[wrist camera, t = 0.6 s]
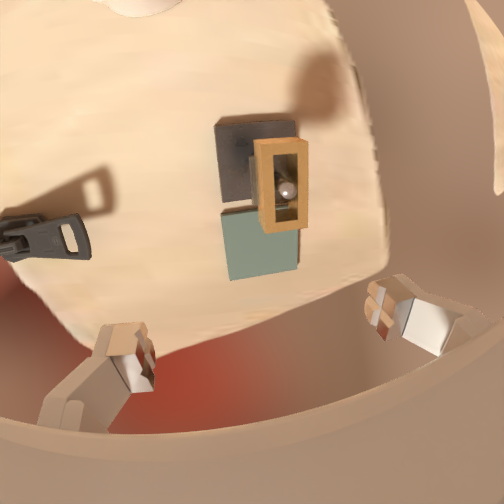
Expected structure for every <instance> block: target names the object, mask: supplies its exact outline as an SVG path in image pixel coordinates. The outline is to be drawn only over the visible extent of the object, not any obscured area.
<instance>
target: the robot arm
mask: <svg viewBox="0 0 504 504" xmlns="http://www.w3.org/2000/svg"><path fill="white" fill-rule="evenodd" d="M92 1H93V2H97V3H102V4H105V5H106V6H108V7H109V8H110V9H111V10H112V11H114V12H115V13H117V14H120V15H123V16H128V17H144V16H150V15H154V14H157V13H160V12H162V11H165V10H167V9H169V8H171V7H173V6H174V5H176V4H177V3H179V2H180V1H181V0H92ZM367 292H368V294H369V297H368V298H367V299H366V301H365V306H364V311H365V316H366V318H367V320H368V321H369V322H370V324H372V325H374V326H377V329H376V331H377V333H378V334H379V335H380V336H381V337H382V339H383V340H384V341H385V342H386V341H389V340H392V339H395V338H398V337H401V336H402V337H403V338H405V339H407V340H409V341H410V342H412V343H414V344H416V345H418V346H420V347H422V348H423V349H425V350H427V351H429V352H431V353H433V354H434V355H436V356H438V358H437V359H435V360H433V361H431V362H430V363H428V364H426V365H424V366H422V367H420V368H418V369H416V370H414V371H412V372H409V373H408V374H405V375H403V376H401V377H399V378H397V379H394V380H392V381H389V382H387V383H385V384H383V385H380V386H378V387H375V388H373V389H370V390H368V391H365V392H362V393H360V394H357V395H354V396H352V397H349V398H346V399H343V400H340V401H337V402H334V403H331V404H328V405H324V406H321V407H318V408H314V409H311V410H307V411H304V412H300V413H296V414H292V415H288V416H284V417H280V418H275V419H271V420H266V421H262V422H257V423H251V424H246V425H241V426H234V427H227V428H220V429H213V430H204V431H195V432H183V433H170V434H110V433H109V432H108V431H107V428H108V427H109V425H110V424H111V423H112V421H113V420H114V418H115V417H116V415H117V414H118V412H119V411H120V409H121V408H122V407H123V405H124V403H125V402H126V401H127V399H128V398H129V396H130V395H131V393H135V392H147V391H154V381H155V375H154V373H153V371H152V370H153V368H154V367H155V366H156V357H155V350H154V346H153V343H152V341H151V340H150V339H149V338H147V332H148V330H147V328H146V326H145V323H143V322H132V323H120V324H109V325H103V326H102V327H101V329H100V332H99V335H98V338H97V341H96V344H95V347H94V350H93V353H92V357H89V358H87V359H86V360H84V361H83V362H82V363H81V364H80V365H79V366H78V367H77V368H76V369H75V370H73V371H72V372H71V373H70V374H69V375H68V376H67V377H66V378H65V379H64V380H63V381H62V382H60V383H59V384H58V385H57V386H56V387H55V388H54V389H53V390H52V391H51V392H50V393H49V394H48V395H47V396H46V397H45V399H44V402H43V405H42V408H41V412H40V415H39V418H38V422H37V425H32V424H28V423H23V422H18V421H14V420H10V419H6V418H2V417H0V504H504V317H502V319H500V320H498V321H497V322H496V323H494V324H493V323H492V322H491V321H490V320H489V319H488V318H487V317H486V316H484V315H483V314H482V313H481V312H480V311H479V310H478V309H477V308H474V307H471V306H468V305H465V304H462V303H459V302H455V301H453V300H449V299H447V298H443V297H441V296H437V295H434V294H431V293H425V292H424V291H423V290H422V289H421V288H420V287H418V286H417V285H416V284H415V283H414V282H413V281H411V280H410V279H409V278H408V277H407V276H405V275H404V274H398V275H394V276H391V277H389V278H385V279H381V280H377V281H373V282H370V283H369V285H368V289H367Z"/></svg>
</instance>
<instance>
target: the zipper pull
mask: <svg viewBox="0 0 504 504" xmlns="http://www.w3.org/2000/svg"><path fill="white" fill-rule="evenodd" d="M61 224H70V226H71V228H72V230H73V233H74V236H75V239H76V242H77V245H78V252H70V251H69V250H68V248H67V245H66V242H65V239H64V236H63V233H62V230H61V226H60V225H61ZM0 256H2V257H3V258H4V259H5V260H7V261H10V262H13V263H14V262H17V261H20V260H23V259H26V258H31V257H37V258H57V259H75V260H90V258H91V257H92V255H91V245H90V241H89V237H88V234H87V231H86V228H85V225H84V223H83V221H82V219H81V217H80V215H79V214H78V213H75V214H71V215H67V216H63V217H59V218H56V219H52V220H48V221H47V220H46V218H45V217H44V216H43V215H42V214H29V215H20V216H10V217H4V218H2V219H1V220H0Z"/></svg>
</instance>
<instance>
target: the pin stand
mask: <svg viewBox="0 0 504 504" xmlns="http://www.w3.org/2000/svg"><path fill="white" fill-rule="evenodd" d="M214 133H215V142H216V152H217V161H218V170H219V179H220V187H221V196H222V202H223V203H225V202H232V201H239V200H246V199H252V204H253V206H258V200H257V185H256V170H255V155H254V141H253V140H257V139H270V138H285V137H295V121H294V120H277V121H260V122H247V123H237V124H227V125H218V126H214ZM273 167H274V190H275V204H277V203H285V202H288V199H292V198H293V197H295V195H296V193H297V190H296V187H295V186H294V185H293V184H292V183H290V182H289V181H288V164H287V154H279V155H273Z"/></svg>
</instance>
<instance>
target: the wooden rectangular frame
mask: <svg viewBox="0 0 504 504" xmlns="http://www.w3.org/2000/svg"><path fill="white" fill-rule="evenodd" d="M253 141H254V155H255V170H256V185H257V200H258V216H259V222H260V224H261V226H262V228H263V230H264V232H265V234H269V233H276V232H282V231H289V230H296V229H303V228H308V141H306V140H303V139H301V138H298V137H285V138H270V139H257V140H253ZM279 154H287V164H288V181H289V182H290V183H292V184H293V185H294V186H295V187H296V190H297V193H296V195H295V197H293V198H292V199H288V208H286V209H278V210H275V190H274V167H273V155H279Z"/></svg>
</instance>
